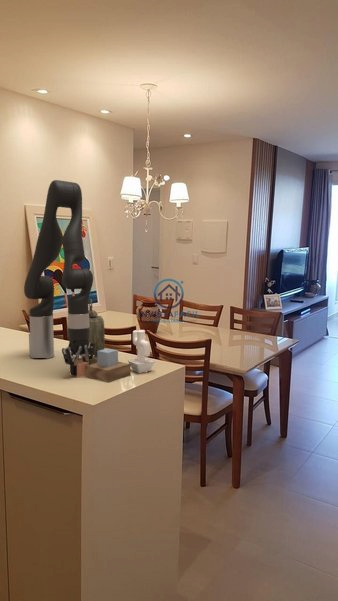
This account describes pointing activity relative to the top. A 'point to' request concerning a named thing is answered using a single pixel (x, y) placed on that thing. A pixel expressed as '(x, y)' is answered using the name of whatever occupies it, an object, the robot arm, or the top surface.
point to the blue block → (107, 357)
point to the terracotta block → (81, 368)
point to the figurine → (141, 353)
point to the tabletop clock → (96, 330)
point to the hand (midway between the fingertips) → (79, 373)
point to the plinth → (108, 371)
